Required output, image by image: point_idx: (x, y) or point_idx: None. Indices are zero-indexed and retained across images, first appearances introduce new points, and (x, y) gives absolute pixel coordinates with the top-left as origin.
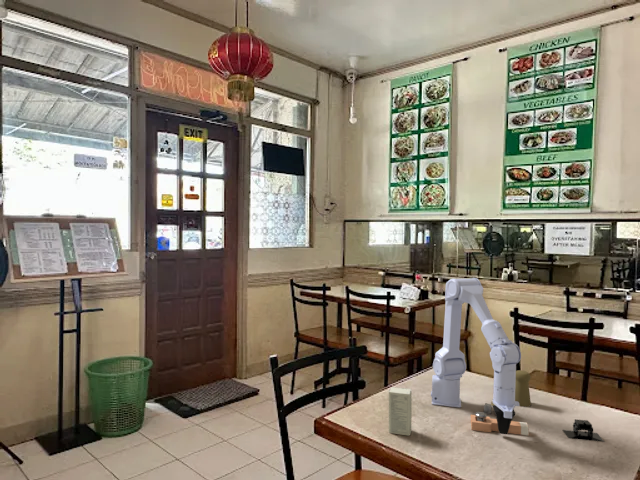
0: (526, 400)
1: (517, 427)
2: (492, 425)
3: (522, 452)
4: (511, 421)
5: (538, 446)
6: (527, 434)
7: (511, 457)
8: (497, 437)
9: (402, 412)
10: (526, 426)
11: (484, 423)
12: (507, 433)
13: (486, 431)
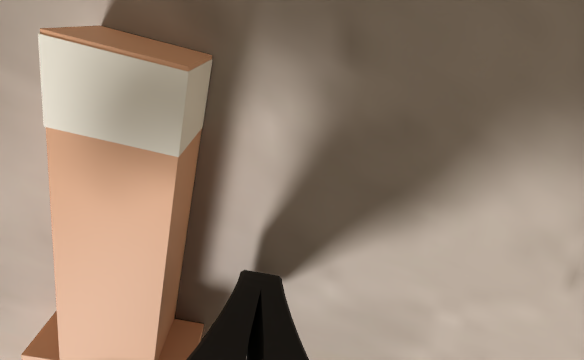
0: None
1: (179, 182)
2: (161, 346)
3: (509, 237)
4: (63, 210)
5: (440, 62)
6: (209, 69)
7: (550, 319)
8: None
9: None
10: (171, 93)
11: None
12: (281, 280)
13: None
